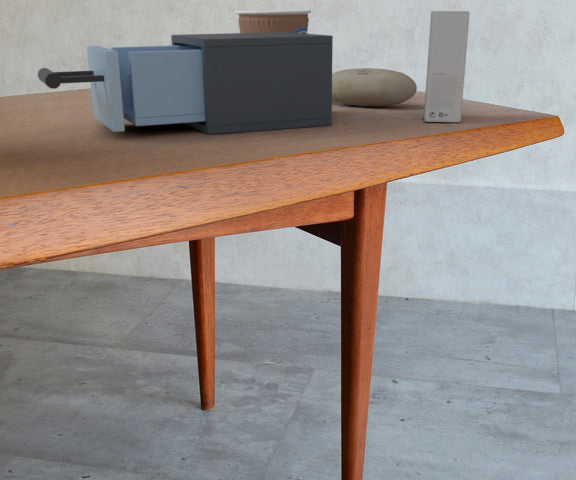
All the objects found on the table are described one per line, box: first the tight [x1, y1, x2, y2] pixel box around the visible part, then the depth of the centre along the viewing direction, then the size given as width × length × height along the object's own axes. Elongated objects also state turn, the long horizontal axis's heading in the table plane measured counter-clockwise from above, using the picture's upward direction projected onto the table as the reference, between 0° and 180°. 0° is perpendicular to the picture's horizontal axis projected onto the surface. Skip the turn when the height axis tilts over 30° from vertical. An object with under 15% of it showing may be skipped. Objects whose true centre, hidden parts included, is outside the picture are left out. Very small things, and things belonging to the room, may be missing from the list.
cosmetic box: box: [423, 10, 470, 123], centre depth 85 cm, size 6×4×12 cm
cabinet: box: [170, 32, 334, 136], centre depth 84 cm, size 15×13×10 cm
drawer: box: [37, 44, 205, 133], centre depth 79 cm, size 19×11×8 cm, turn 114°
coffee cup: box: [235, 9, 312, 34], centre depth 102 cm, size 10×10×12 cm
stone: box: [332, 67, 418, 107], centre depth 97 cm, size 6×6×12 cm
